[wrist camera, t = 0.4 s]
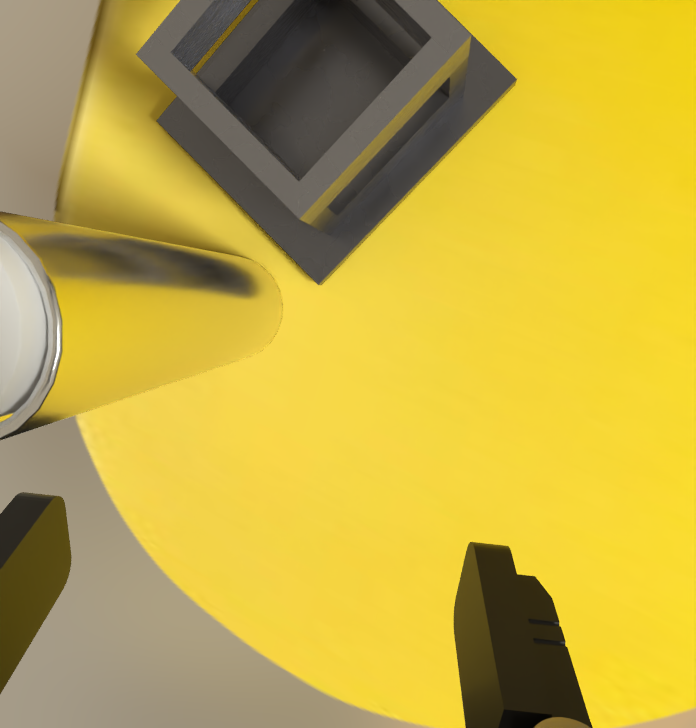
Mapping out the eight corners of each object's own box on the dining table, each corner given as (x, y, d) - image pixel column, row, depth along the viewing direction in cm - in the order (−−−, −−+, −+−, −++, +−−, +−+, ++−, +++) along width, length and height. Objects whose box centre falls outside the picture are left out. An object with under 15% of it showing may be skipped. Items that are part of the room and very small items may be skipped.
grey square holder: (343, -86, 37) (310, -214, 28) (514, 85, 37) (540, 13, 27) (163, 125, 40) (78, 73, 31) (321, 285, 40) (285, 282, 30)
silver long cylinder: (168, 331, 41) (-231, 386, 17) (208, 238, 40) (-153, 151, 16) (257, 376, 41) (-19, 503, 16) (300, 283, 40) (75, 267, 15)
